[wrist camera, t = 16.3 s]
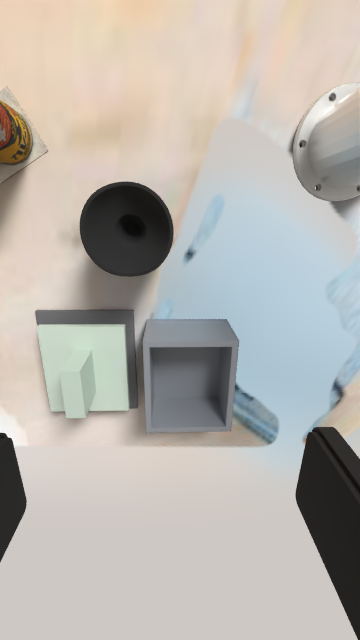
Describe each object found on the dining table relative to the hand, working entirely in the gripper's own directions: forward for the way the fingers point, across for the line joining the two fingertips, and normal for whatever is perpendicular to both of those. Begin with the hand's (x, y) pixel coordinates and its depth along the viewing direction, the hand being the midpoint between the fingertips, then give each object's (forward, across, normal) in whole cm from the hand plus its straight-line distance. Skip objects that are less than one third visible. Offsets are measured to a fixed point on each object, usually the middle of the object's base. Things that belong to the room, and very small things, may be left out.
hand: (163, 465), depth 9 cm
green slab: (+33, +12, +14) cm, 38 cm away
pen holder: (+34, +4, -6) cm, 34 cm away
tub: (+33, -3, +14) cm, 36 cm away
